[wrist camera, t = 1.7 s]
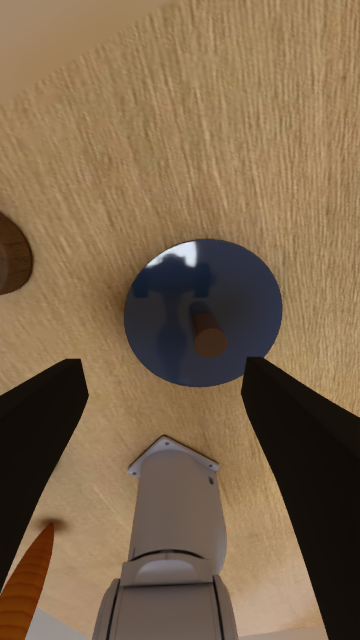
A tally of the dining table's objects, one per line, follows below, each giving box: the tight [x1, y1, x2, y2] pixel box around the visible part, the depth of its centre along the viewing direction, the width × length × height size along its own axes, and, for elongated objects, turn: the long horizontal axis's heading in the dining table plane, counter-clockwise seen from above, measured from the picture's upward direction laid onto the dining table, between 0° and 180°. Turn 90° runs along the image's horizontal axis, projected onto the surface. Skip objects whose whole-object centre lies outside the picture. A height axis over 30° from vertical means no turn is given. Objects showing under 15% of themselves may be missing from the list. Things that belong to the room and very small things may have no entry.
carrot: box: [0, 523, 54, 640], centre depth 23 cm, size 5×5×15 cm
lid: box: [124, 239, 282, 387], centre depth 16 cm, size 14×14×5 cm
